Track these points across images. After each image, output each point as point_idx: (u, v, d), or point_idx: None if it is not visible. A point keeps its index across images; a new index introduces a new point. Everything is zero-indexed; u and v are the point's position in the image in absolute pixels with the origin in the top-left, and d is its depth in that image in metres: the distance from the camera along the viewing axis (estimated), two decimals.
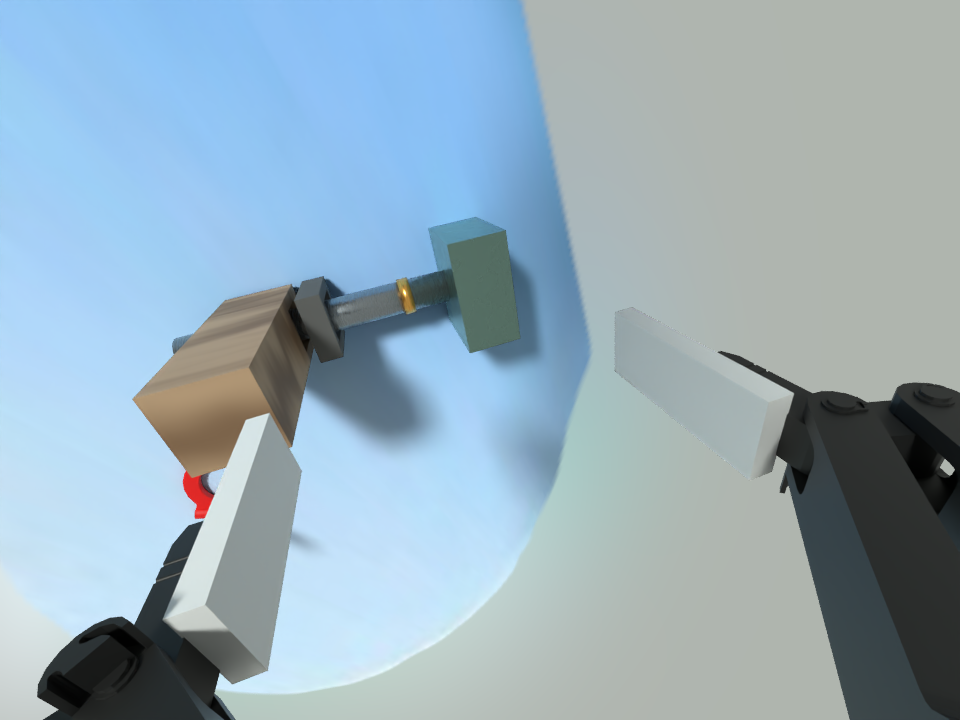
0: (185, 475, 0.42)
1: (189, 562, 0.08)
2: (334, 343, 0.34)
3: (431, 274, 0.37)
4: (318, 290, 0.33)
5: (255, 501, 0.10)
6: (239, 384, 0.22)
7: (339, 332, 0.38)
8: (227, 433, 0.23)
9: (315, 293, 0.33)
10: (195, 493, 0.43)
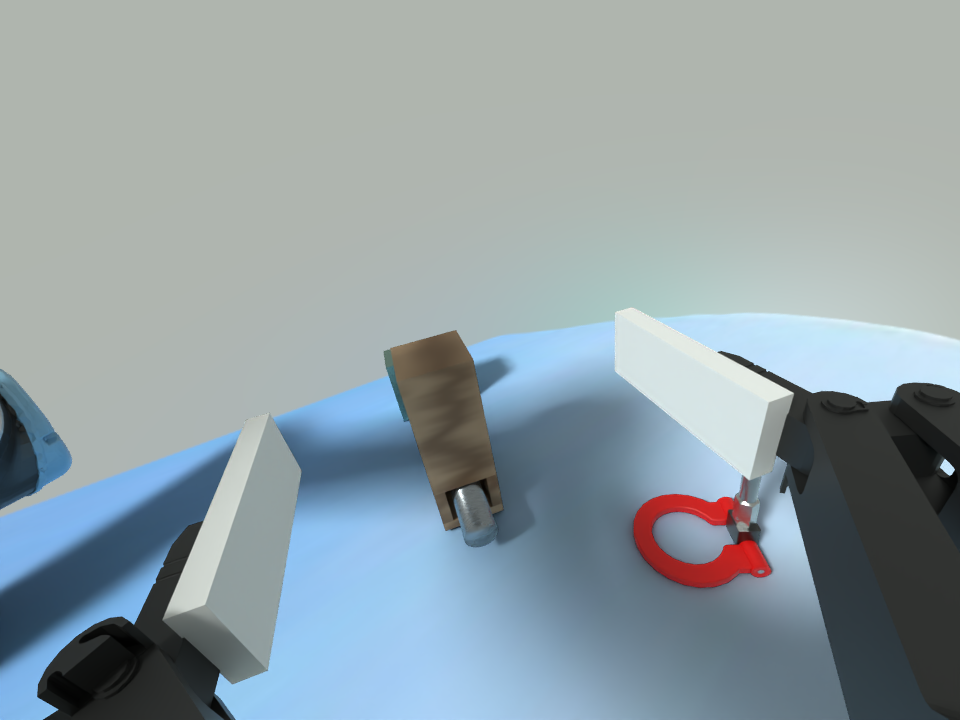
0: (687, 578, 0.30)
1: (189, 562, 0.08)
2: None
3: None
4: None
5: (255, 501, 0.10)
6: (400, 349, 0.34)
7: None
8: (437, 350, 0.32)
9: None
10: (717, 568, 0.30)
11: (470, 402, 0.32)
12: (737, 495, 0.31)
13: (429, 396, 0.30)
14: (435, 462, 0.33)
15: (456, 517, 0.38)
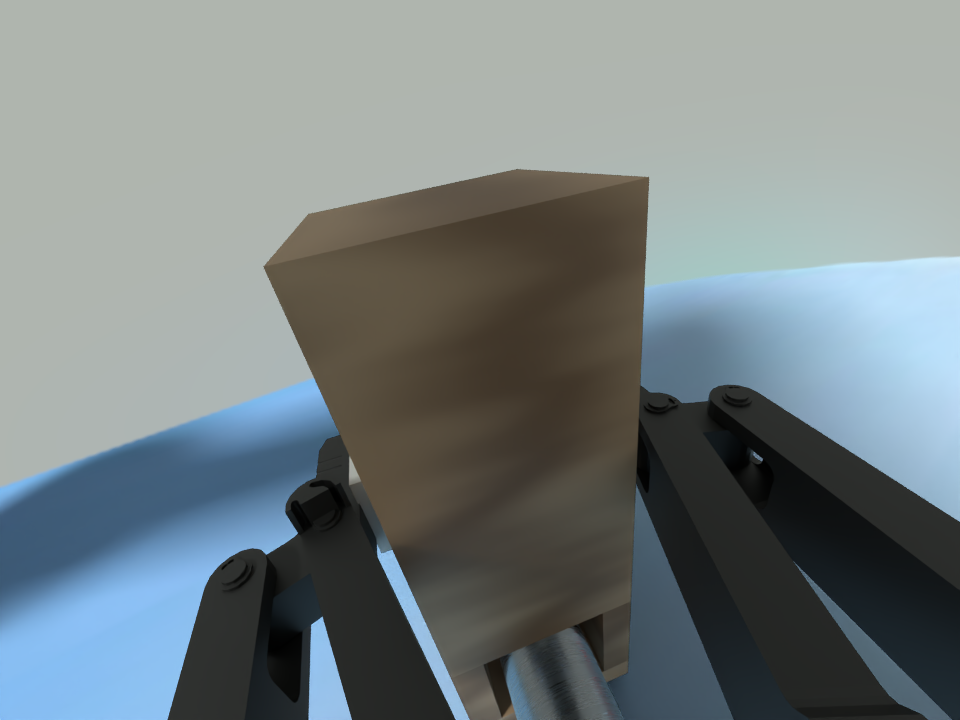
0: None
1: None
2: None
3: None
4: None
5: None
6: (339, 210, 0.10)
7: None
8: (465, 193, 0.09)
9: None
10: None
11: (601, 385, 0.08)
12: None
13: (441, 355, 0.07)
14: (458, 594, 0.10)
15: (508, 705, 0.14)
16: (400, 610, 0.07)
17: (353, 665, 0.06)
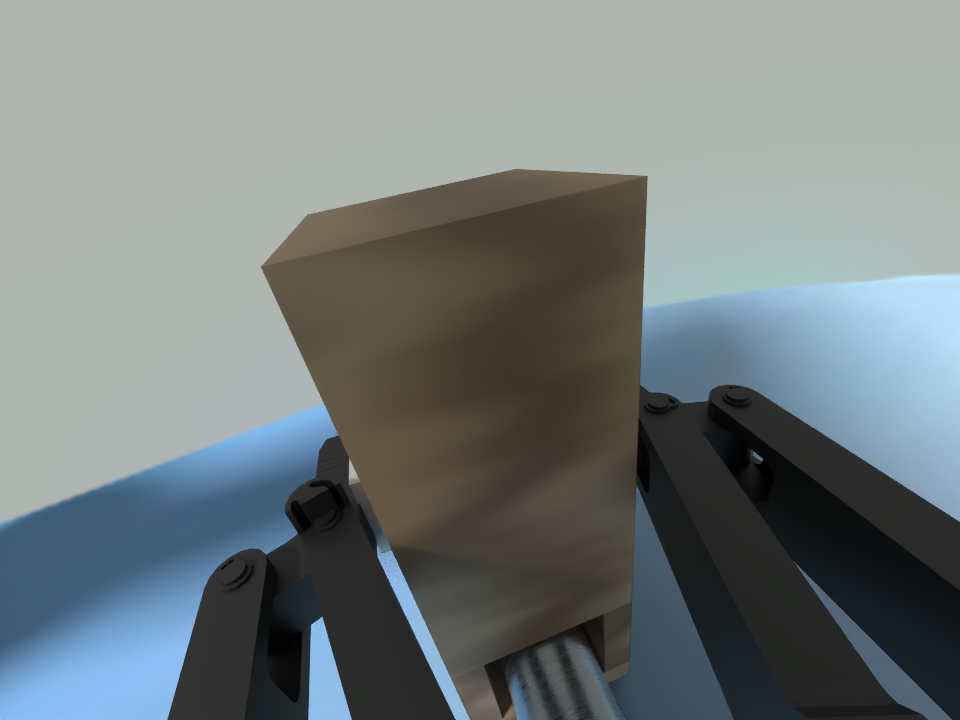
0: None
1: None
2: None
3: None
4: None
5: None
6: (338, 211, 0.10)
7: None
8: (464, 192, 0.09)
9: None
10: None
11: (600, 385, 0.08)
12: None
13: (439, 355, 0.07)
14: (458, 595, 0.10)
15: (509, 706, 0.14)
16: (400, 610, 0.07)
17: (353, 665, 0.06)
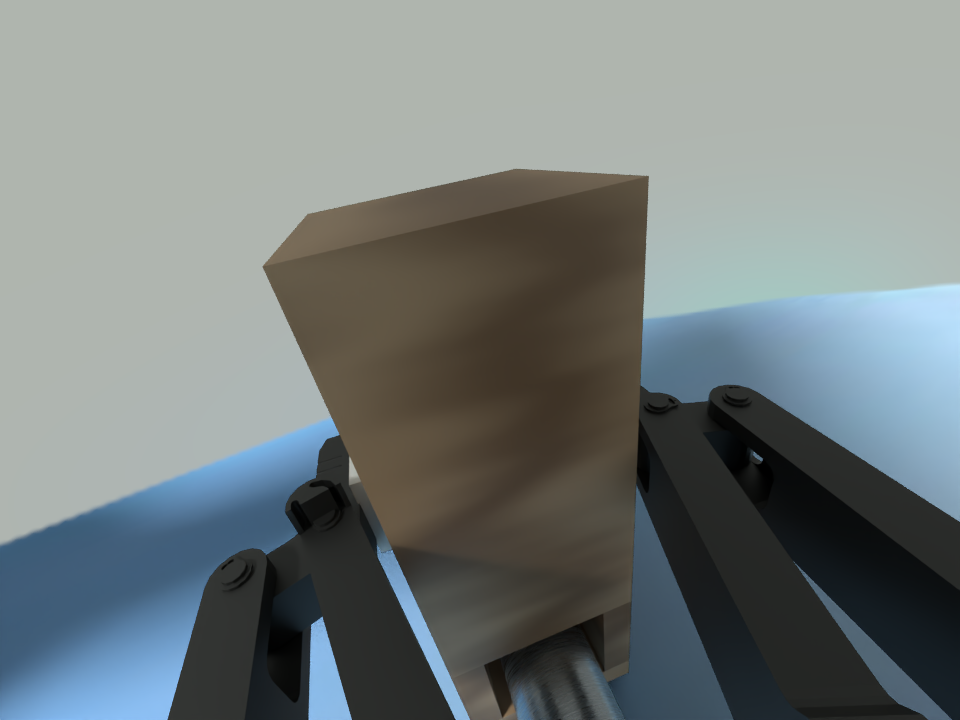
0: None
1: None
2: None
3: None
4: None
5: None
6: (338, 210, 0.10)
7: None
8: (465, 192, 0.09)
9: None
10: None
11: (601, 385, 0.08)
12: None
13: (440, 355, 0.07)
14: (458, 594, 0.10)
15: (509, 705, 0.14)
16: (400, 610, 0.07)
17: (353, 665, 0.06)
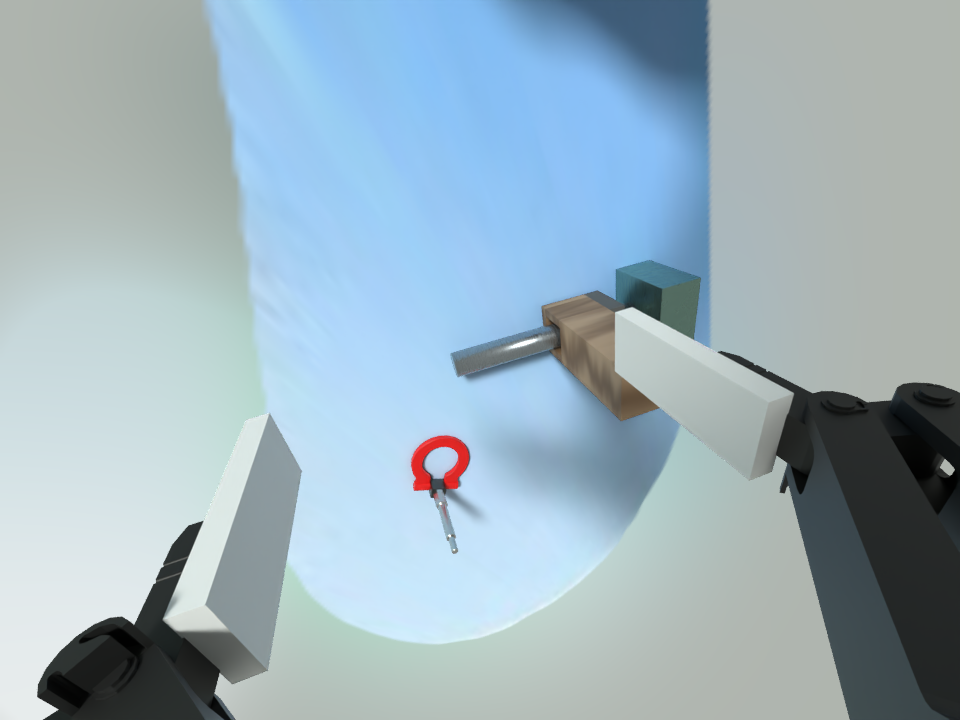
0: (415, 456, 0.55)
1: (189, 562, 0.08)
2: None
3: None
4: (617, 302, 0.47)
5: (255, 501, 0.10)
6: None
7: None
8: None
9: (619, 304, 0.46)
10: (418, 470, 0.56)
11: (599, 393, 0.41)
12: (444, 502, 0.54)
13: (608, 377, 0.38)
14: (575, 340, 0.43)
15: (547, 318, 0.50)
16: None
17: None
